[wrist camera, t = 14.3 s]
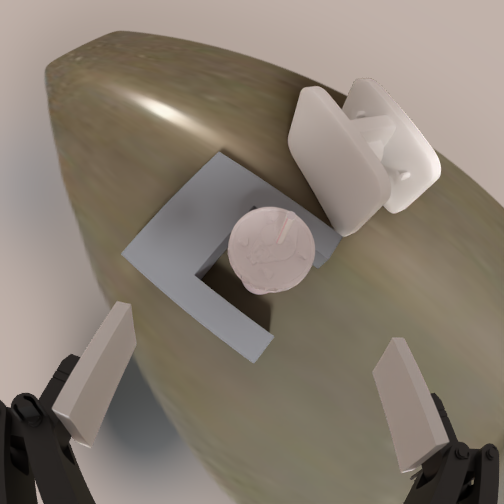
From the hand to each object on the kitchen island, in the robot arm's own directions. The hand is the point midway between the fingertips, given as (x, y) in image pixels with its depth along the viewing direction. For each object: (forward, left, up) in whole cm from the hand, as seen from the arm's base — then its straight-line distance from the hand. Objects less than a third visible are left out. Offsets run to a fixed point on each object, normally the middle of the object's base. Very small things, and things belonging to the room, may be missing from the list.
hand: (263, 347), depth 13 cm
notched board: (+7, -7, -15) cm, 18 cm away
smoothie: (+3, -6, -15) cm, 17 cm away
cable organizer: (+2, -23, -15) cm, 28 cm away
